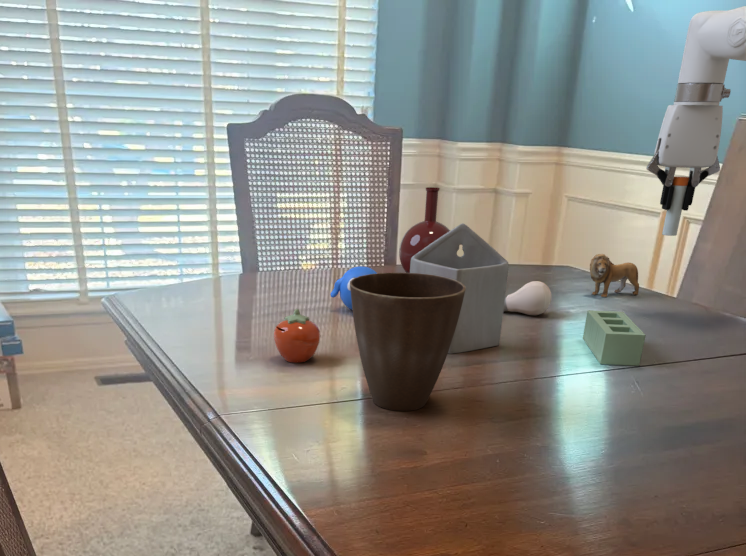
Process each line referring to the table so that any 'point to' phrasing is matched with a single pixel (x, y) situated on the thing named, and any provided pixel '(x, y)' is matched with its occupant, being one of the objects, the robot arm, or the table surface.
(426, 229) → the round-bottom flask
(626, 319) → the rack
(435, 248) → the planter
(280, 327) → the tomato
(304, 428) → the table surface
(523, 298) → the light bulb
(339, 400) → the table surface
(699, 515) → the table surface
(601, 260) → the lion figurine
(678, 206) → the test tube
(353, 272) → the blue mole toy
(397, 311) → the flower pot
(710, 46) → the robot arm
